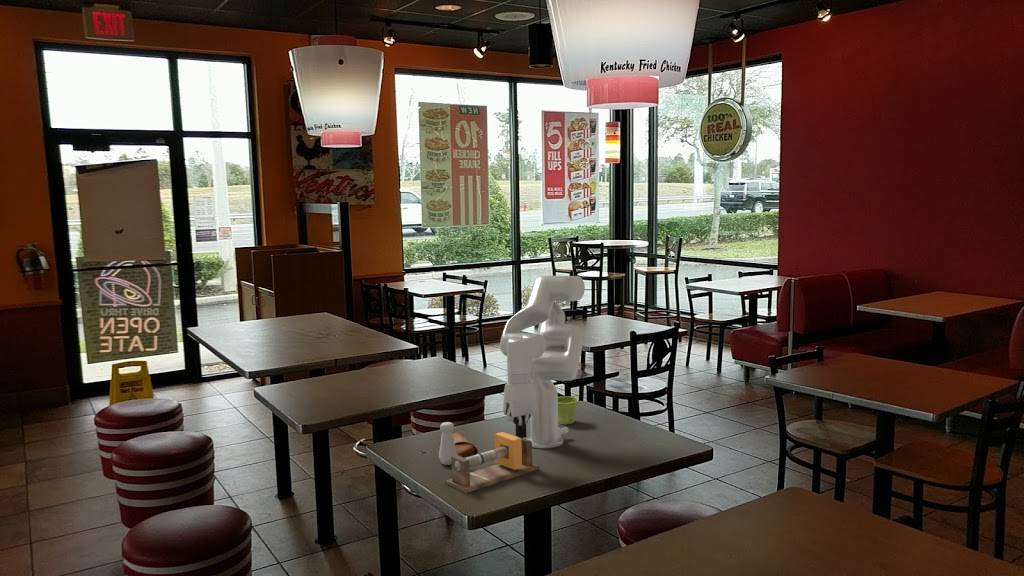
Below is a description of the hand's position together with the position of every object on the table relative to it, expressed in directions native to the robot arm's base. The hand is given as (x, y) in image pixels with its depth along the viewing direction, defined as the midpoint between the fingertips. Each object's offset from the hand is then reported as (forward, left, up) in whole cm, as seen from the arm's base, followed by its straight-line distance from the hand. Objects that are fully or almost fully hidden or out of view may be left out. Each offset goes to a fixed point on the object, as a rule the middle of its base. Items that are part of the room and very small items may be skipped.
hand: (521, 436), depth 229 cm
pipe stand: (+11, 0, -10) cm, 15 cm away
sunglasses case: (+4, -29, -10) cm, 31 cm away
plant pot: (-43, -24, -10) cm, 50 cm away
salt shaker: (+14, -19, -10) cm, 26 cm away
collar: (+5, 0, -8) cm, 9 cm away
